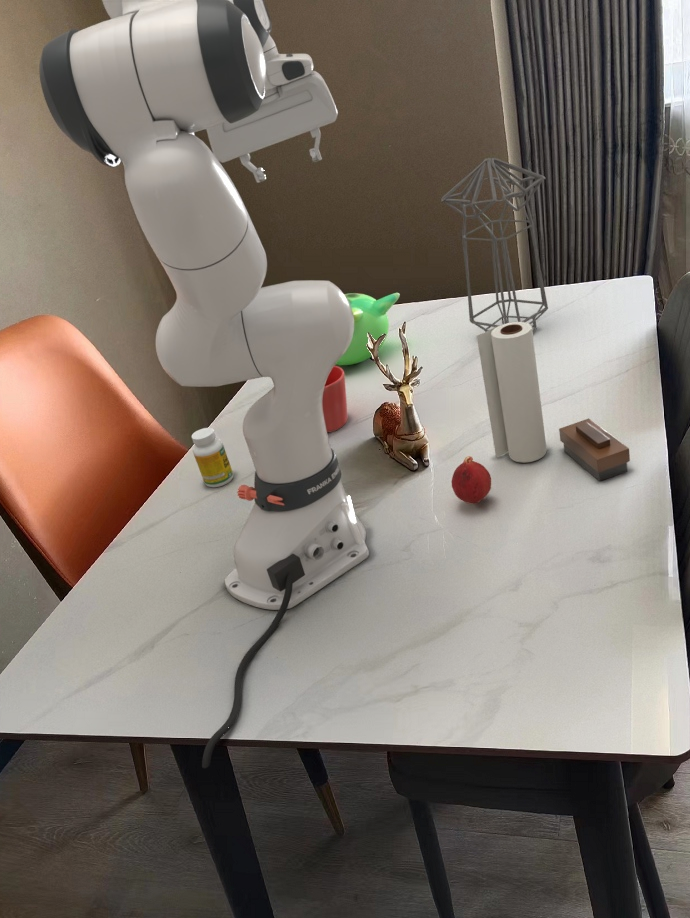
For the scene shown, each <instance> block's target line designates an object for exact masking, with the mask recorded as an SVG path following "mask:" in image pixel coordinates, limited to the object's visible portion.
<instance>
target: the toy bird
mask: <svg viewBox="0 0 690 918" xmlns="http://www.w3.org/2000/svg"><path fill="white" fill-rule="evenodd" d="M344 295H345V296H346V298H347V299H348V301H349V303H350V305H351V308H352V311H353V316H354V332H353V337H352V340H351V343H350V345H349V347H348V349H347V350H346V352H345V353H344V355H343V356H342V357H341V358H340V359H339V360H338V361H337V362H336V364H335V365H336V366H350V365H356V364H359V363H362V362H365V361H366V360H368V359H370V358H371V357H372V356H371V353H370V352H369V350H368V349H367V346H366V344H367V343H368V337H367V333H368V332H369V333H370V334H371V335H372V337H373V338H374V339H375V340H377V339H378V338H379V337H380V336H381V335H382V334H384V333H385V334H386V337H385V339H384V340H383V342H382V343H381V345H380V346H379V349H378V351H379V350H380V349H381V348H382V346H383V345H384V343H385V341H386V339H387V336H388V333H389V328H390V327H389V326H390V325H389V324H390V323H389V317H388V313H387V312H388V311H389V310H390V309H391V308H392V307H393V306H394V305H395V304H396V302H397V301H398V300H399V298H400V296H401V294H400V293H399V292H394V293H391V294H388V295H386V296H383V297H381V298H379V299H376V298H374V297H372V296H370V295H367V294H364V293H360V292H359V293H358V292H357V293H356V292H353V293H344Z"/></svg>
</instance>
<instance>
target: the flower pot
mask: <svg viewBox="0 0 690 918" xmlns="http://www.w3.org/2000/svg"><path fill="white" fill-rule="evenodd" d="M347 401H348V400H347V389H346V377H345V371H344V369H343V368H342V367H340V366H339V365H334V366H333V368H332V370H331V371H330V373H329V375H328V378H327V380H326V383H325V387H324V391H323V399H322V407H323V414H324V420H325V425H326V430H327V433H331V432H334V431H337V430H339V429H341V428H342V427H343V426H345V425H346V423H347V422H348V403H347Z"/></svg>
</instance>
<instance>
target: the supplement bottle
mask: <svg viewBox="0 0 690 918" xmlns="http://www.w3.org/2000/svg"><path fill="white" fill-rule="evenodd" d="M191 440H192V443H193V447H192V453H193V456H194V459H195V462H196V465H197V467H198V469H199V472H200V476H201V477H202V481H203V483H204V484H205V486H206V487H208V488H219V487H222V486H225V485H227V484H229V483H230V482H231V481H232V479H234V472H233V469H232V466H231V463H230V460H229V458H228V455H227V451H226V448H225V445H224V443H223V441H222V440H221V439H220V438H218V437H217V435H216V432H215V430H214V428H213V427H203V428H201V429H198V430H196V431H194V432H193V433H192V434H191Z"/></svg>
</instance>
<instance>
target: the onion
mask: <svg viewBox="0 0 690 918" xmlns="http://www.w3.org/2000/svg"><path fill="white" fill-rule="evenodd" d="M451 488H452V490H453V493H454V495H455V496H456V497H457V499H459V500H460V501H462V502H464V503H467V504H470V505H471V504H472V505H477V504H479V503H480V501H483V500H484V499H485V498H486V497H487V495H489V493H490V491H491V489H492V477H491V474H490V472H489V470H488V469H487V468H486V467H485V466H484V465H483V464H481V463H479V462H477V461H474V458H473V456H470V455H467V456H465V457H464V459H463V461H462V463H460V464H459V465H458V466H457V467H456V468H455V470H454V472H453V474H452V477H451Z"/></svg>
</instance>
